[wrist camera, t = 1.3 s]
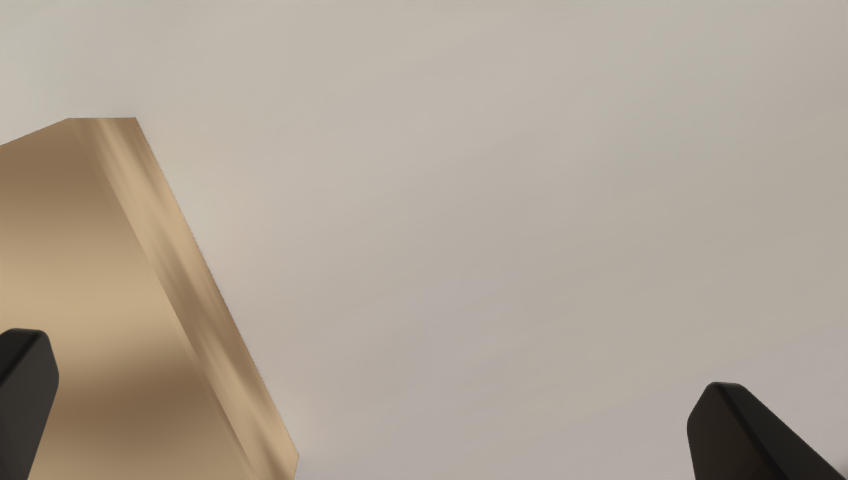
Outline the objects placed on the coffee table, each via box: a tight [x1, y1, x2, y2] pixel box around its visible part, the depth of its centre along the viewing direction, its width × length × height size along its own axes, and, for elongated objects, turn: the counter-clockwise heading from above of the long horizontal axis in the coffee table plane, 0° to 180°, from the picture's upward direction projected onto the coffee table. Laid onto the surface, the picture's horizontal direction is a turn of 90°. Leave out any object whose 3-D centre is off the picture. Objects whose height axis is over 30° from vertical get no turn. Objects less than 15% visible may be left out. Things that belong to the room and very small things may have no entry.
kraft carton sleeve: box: [0, 118, 299, 480], centre depth 21 cm, size 13×12×5 cm
